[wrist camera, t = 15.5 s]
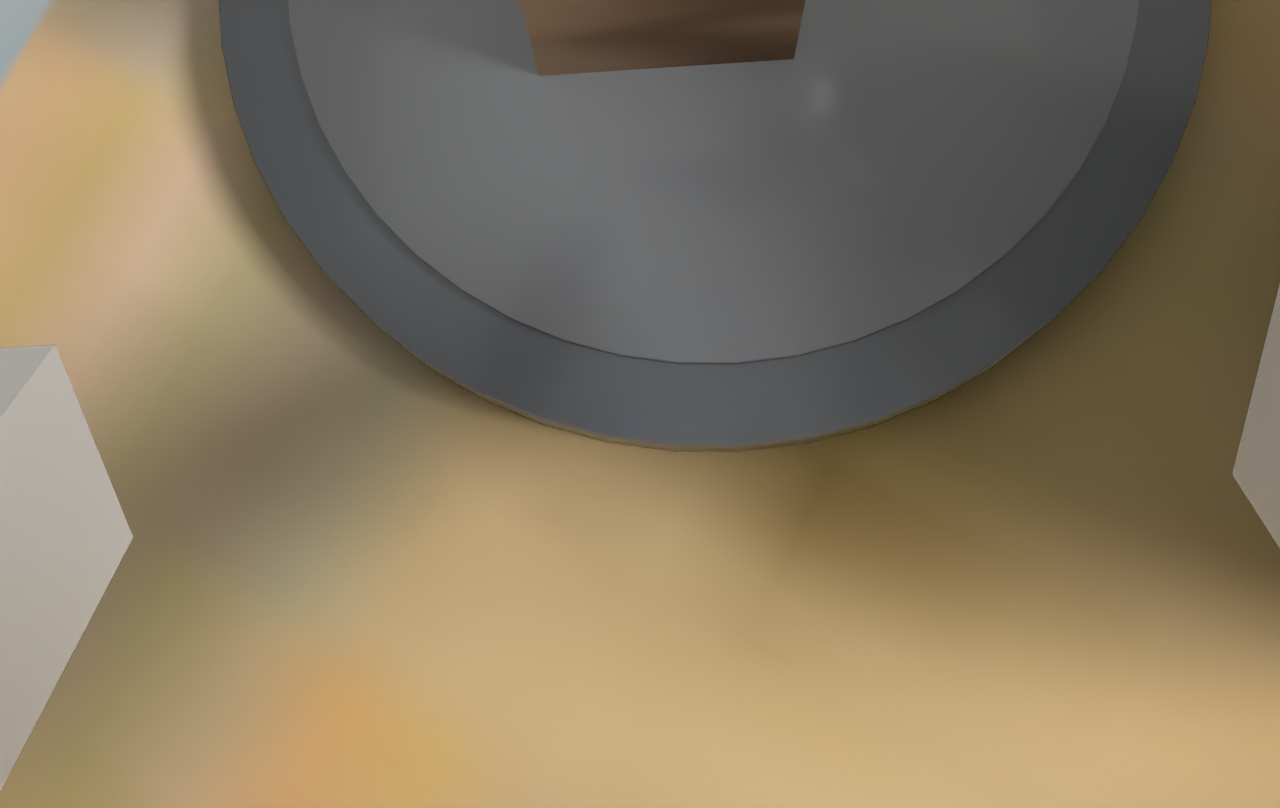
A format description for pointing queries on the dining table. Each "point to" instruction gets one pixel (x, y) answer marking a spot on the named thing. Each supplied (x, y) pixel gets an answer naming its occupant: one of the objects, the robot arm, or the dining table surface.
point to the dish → (716, 199)
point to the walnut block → (658, 33)
